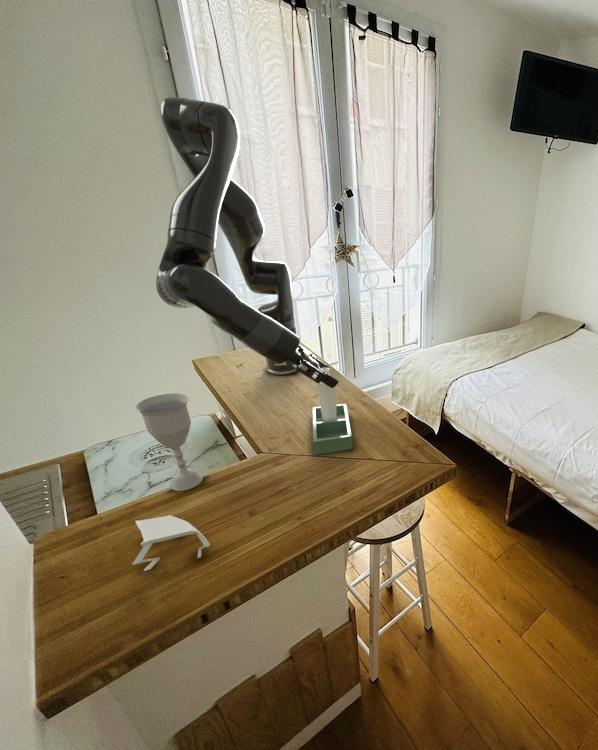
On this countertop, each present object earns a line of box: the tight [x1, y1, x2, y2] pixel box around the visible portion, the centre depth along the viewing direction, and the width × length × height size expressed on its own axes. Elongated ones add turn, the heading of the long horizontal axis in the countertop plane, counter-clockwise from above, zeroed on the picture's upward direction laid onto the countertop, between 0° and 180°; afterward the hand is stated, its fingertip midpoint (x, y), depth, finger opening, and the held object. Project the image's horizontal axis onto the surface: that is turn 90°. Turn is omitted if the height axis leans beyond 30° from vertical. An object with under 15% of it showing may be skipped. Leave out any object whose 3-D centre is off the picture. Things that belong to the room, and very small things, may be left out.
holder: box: [311, 403, 354, 456], centre depth 96 cm, size 15×8×4 cm, turn 23°
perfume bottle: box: [315, 368, 337, 421], centre depth 96 cm, size 5×4×15 cm
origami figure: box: [131, 514, 211, 572], centre depth 63 cm, size 12×8×5 cm
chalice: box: [135, 393, 204, 492], centre depth 74 cm, size 7×7×18 cm
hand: (330, 377), depth 94 cm, fingers open, 8 cm apart
